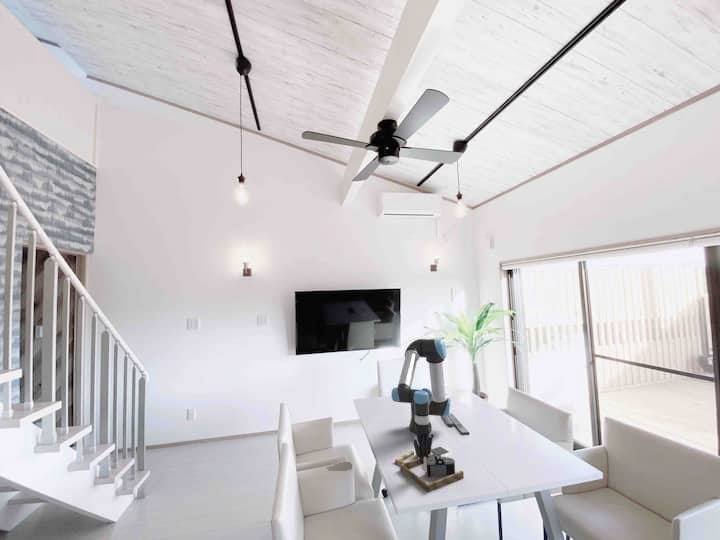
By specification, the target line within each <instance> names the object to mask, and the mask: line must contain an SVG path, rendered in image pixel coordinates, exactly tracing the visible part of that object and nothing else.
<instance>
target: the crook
mask: <svg viewBox="0 0 720 540" xmlns="http://www.w3.org/2000/svg"><path fill="white" fill-rule="evenodd" d="M413 456H415V451H413V450H411V451H409V452H406V453H405V454H403V455H400V456H399V457H397V458H394V459H395V460H394V462H395V463H396V464H397V465H398V466H400V465H401V464H404V463H407V461H406V460H408V459H409V458H412V457H413Z"/></svg>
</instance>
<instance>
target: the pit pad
mask: <svg viewBox="0 0 720 540" xmlns="http://www.w3.org/2000/svg"><path fill="white" fill-rule="evenodd" d="M431 453H432V454H433V453H434V454H435V455H441V456H442V455H444V454H447V453H449V450H447V449H445V448H443V447H441V446H437V447H434V448H431Z"/></svg>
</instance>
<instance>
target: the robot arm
mask: <svg viewBox="0 0 720 540" xmlns="http://www.w3.org/2000/svg"><path fill="white" fill-rule="evenodd" d="M420 358H425V361H426V362H427V363H428V369H429V377H430V387H431V389H430V388H427V387H424V388H422V389H417V388H416V389H415V388H412V384H413V380H414V376H415V371H416V367H417V363H418V361H419V360H420ZM445 359H447V347H446V344H445V342H444V340H443V339H436V338H433V339H430V338H429V339H427V338H426V339H425V338H418V339H416V340H415V339H414V341H412V342H410V343H409V345H408V346H407V348H406V349H405V352H404V362H403V365H402V367H401V368H402V369H401V373H400V377H399V381H398V384H397V386H396V387H393V388H392V390H391V401H393V402H394V403H395V402H396V403H404V404H410V413H411V414H410V415H411V416H410V417H411V418H410V421H409V425H408V427H409V428H408V429H409V431H410V432H412V433H414V437H412V438H411V441H412V443H413V448H414V450H415V451H414V453H415V455H416V457H417V456H418V457H419V458H420V463H421V465H420V466H421V467H420V469H421V470H422V471H424V472H427V462H428V460H427V457H429V456H428V455H430V454H432V452H431V449H432V445H433V439H434V437H435V436H434V434H433V433H431V432H432V430H433V428H432V427H433V426H432V423H431V421H430V416H433V417H434V416H437V417H444V418H445V417H447V418H448V417H449V416H450V412H451V402H452V401H451V400H452V399H451V398H449V396H448V394H447V393H446V390H445V389H446V387H445V377H444V368H443V367H444V366H443V362H444V361H445Z"/></svg>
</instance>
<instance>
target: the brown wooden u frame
mask: <svg viewBox="0 0 720 540" xmlns="http://www.w3.org/2000/svg"><path fill="white" fill-rule="evenodd" d="M435 455H436V454H434V453H433V452H432V453H431V454H430V455H428V456H429V457H433V456H435ZM429 457H427V459H429ZM419 466H421V463H420V458H416V459H413V460H410V461H406V463H404V464H401V465H399V471H400V472H401V473H403V474H404V475H405V476H407V478H409V479H410V480H411V481H412V482H414V483H415V484H417V485H418V486H419V487H420V488H421V489H423V490H424V491H425V492H427V493H430V492H432V491H435V490H438V489H441V488H443V487H445V486H447V485H450V484H452V483H454V482H457V481H460V480H461V479H464V471H463V470H459V471H457V472H455V474H452V475H449V476H447V477H441V478H440V479H437V480H433V481H432V482H429V483H427V482H426V481H425V480H424V479H422V478H421V477H419V475H417V474H416V473H414V472H413V471H411V469H413V468H416V467H419Z"/></svg>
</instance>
